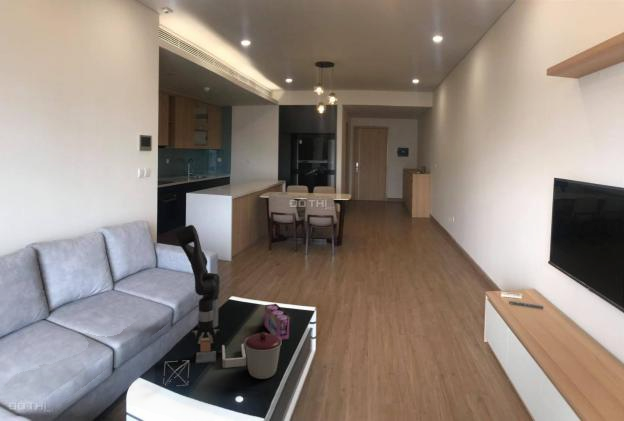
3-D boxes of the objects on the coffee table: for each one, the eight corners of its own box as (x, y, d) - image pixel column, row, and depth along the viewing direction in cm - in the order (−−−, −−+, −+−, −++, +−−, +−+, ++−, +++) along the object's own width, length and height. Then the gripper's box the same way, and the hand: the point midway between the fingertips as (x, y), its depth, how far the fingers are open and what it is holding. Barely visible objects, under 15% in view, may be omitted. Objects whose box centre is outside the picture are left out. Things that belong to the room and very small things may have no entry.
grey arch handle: (222, 352, 216) (222, 345, 215) (243, 350, 218) (243, 343, 218) (222, 367, 200) (222, 360, 200) (245, 365, 203) (246, 358, 202)
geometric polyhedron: (167, 392, 178) (167, 373, 177) (158, 381, 186) (158, 363, 185) (194, 383, 186) (194, 364, 185) (184, 373, 194) (184, 355, 193)
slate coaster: (196, 354, 213) (196, 352, 213) (215, 352, 215) (215, 351, 215) (195, 363, 203) (195, 361, 203) (216, 361, 206) (216, 360, 206)
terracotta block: (200, 347, 212) (200, 338, 211) (210, 346, 213) (210, 337, 212) (200, 351, 207) (200, 342, 206) (210, 351, 208) (210, 341, 207)
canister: (265, 388, 184) (266, 344, 181) (235, 375, 193) (236, 334, 191) (288, 371, 199) (289, 330, 196) (259, 360, 209) (260, 321, 206)
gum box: (290, 339, 234) (290, 317, 232) (277, 341, 231) (278, 319, 229) (275, 323, 255) (276, 303, 254) (264, 325, 252) (264, 305, 250)
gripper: (190, 321, 201) (190, 354, 203) (220, 320, 205) (219, 351, 207) (191, 316, 208) (191, 347, 211) (219, 314, 212) (219, 345, 214)
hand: (205, 349), depth 209 cm, fingers closed on terracotta block, 5 cm apart
